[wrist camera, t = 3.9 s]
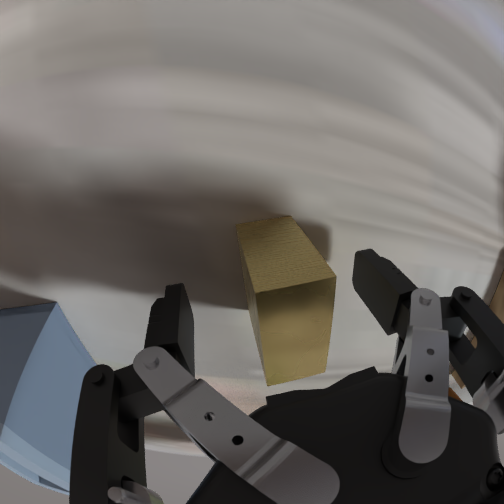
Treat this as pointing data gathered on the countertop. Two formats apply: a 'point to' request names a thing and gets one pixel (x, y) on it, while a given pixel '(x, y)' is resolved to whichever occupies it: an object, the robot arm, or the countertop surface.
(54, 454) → the box
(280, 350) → the rectangular block
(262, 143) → the countertop surface
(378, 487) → the robot arm
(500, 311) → the frame
